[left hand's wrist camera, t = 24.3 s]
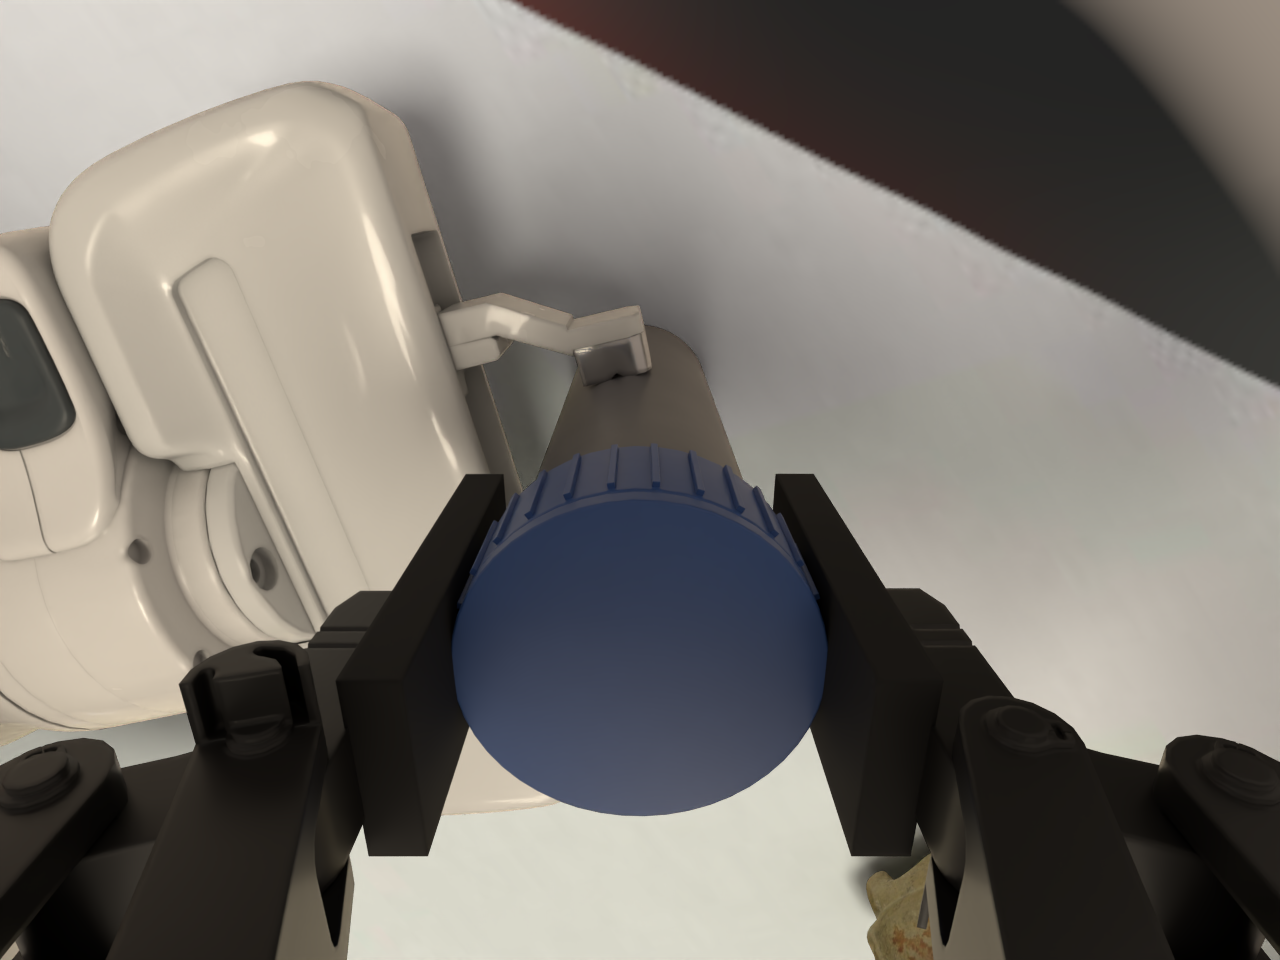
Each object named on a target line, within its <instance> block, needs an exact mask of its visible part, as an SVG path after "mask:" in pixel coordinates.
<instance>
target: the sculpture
mask: <svg viewBox="0 0 1280 960" xmlns="http://www.w3.org/2000/svg"><path fill="white" fill-rule="evenodd" d="M930 856H931V853H930V854H929V855H927V856H926V857H924V858H923V859H922V860H921V861H920V862H919V863H918V864H916V865H915V866H914V867H913V868H911V869H910V870H909V871H908V872H906V873H905V874H903V875H902V876H901V877H899V878H898V879H895V880H893V879H892V878H891V877H890V876H889V874H888V873H887V872H885V871H879V872H877V873H875V874H874V875H872V876H871V877H870V878H869V879H868V881H867V884H866V890H867V895H868V899H869V902H870V904H871V907H872V909H873V912H874V914H875V916H876V919H877V920H876V921H875V922H874V924H873V925H872V926H871V927H870V929H869V930H868V933H867V939H868V943H869V945H870V947H871V950H872V952H873V954H874V956H875V960H933V950H932V940H931V931H930V921H929V919H928V924H927V928H926V929H922V928H918V927H917V922H918V916H919V910H920V905H921V900H922V895H923V890H924V885H925V881H926V876H927V871H928V866H929V861H930Z"/></svg>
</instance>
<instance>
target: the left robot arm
mask: <svg viewBox="0 0 1280 960" xmlns="http://www.w3.org/2000/svg"><path fill="white" fill-rule="evenodd" d="M505 511H506V499H505V486H504V474H465V476H464V478H463V479H462V481H461V482H460V484H459V485H458V487H457V489H456V490H455V492H454V493H453V495H452V497H451V498H450V500H449V501H448V503H447V504H446V506H445V508H444V509H443V511H442V512H441V514H440V516H439V517H438V519H437V520H436V522H435V523H434V525H433V527H432V528H431V530H430V531H429V533H428V535H427V536H426V538H425V539H424V541H423V542H422V544H421V546H420V547H419V549H418V550H417V552H416V554H415V555H414V557H413V558H412V560H411V561H410V563H409V565H408V566H407V568H406V569H405V571H404V573H403V574H402V576H401V577H400V579H399V580H398V582H397V584H396V585H395V587H394V588H393V590H392V591H359V592H357V593H356V594H354V595H353V596H352V597H350V598H349V599H347V600H346V601H344V602H343V603H341V604H340V605H338V606H337V607H335V608H334V609H333V611H332V612H331V613H330V615H329V616H328V617H327V619H326V620H325V622H324V623H323V624H322V626H321V627H320V631H317V632H316V634H315V635H314V636H313V638H312V639H311V640H310V642H309V643H308V648H304V649H303V648H302V647H301V646H300V645H298V644H296V643H291V642H287V641H282V640H268V641H255V642H251V643H247V644H243V645H238V646H234V647H231V648H229V649H227V650H224V651H222V652H220V653H217V654H215V655H213V656H210V657H209V658H207V659H206V660H204V661H203V662H201V663H200V664H198V665H197V666H195V667H194V668H192V669H191V670H190V671H189V672H188V673H187V675H186V676H185V677H184V678H183V679H182V681H181V682H180V683H179V688H180V691H181V695H182V698H183V701H184V705H185V708H186V712H187V715H188V719H189V722H190V726H191V729H192V733H193V736H194V739H195V743H196V745H195V748H194V750H193V752H189V753H186V754H182V755H179V756H175V757H170V758H165V759H161V760H156V761H152V762H147V763H143V764H138V765H133V766H129V767H124V768H120V765H119V762H118V759H117V756H116V754H115V751H114V749H113V748H112V747H111V746H109V745H108V744H107V743H106V742H104V741H103V740H95V739H87V738H80V739H73V740H66V741H59V742H55V743H52V744H48V745H44V746H43V747H38V748H35V749H33V750H30V751H28V752H26V753H24V754H22V755H20V756H18V757H16V758H14V759H12V760H10V761H8V762H6V763H5V764H3V765H1V766H0V959H1V958H2V957H3V956H4V954H5V953H6V952H7V951H8V950H9V948H10V947H11V946H12V945H13V943H14V942H16V944H17V946H18V949H19V951H18V953H17V954H16V955H15V957H14V958H13V959H12V960H347V952H348V942H349V933H350V923H351V913H352V903H353V893H354V878H353V871H352V866H351V861H350V856H349V854H350V852H351V850H352V847H353V845H354V843H355V841H356V838H357V836H358V834H359V832H360V829H361V827H362V825H363V828H364V834H365V839H366V844H367V849H368V855H369V856H428V854H429V851H430V848H431V845H432V842H433V839H434V836H435V832H436V829H437V826H438V823H439V820H440V817H441V814H442V811H443V808H444V804H445V801H446V798H447V795H448V792H449V789H450V786H451V783H452V780H453V776H454V773H455V770H456V767H457V764H458V761H459V758H460V755H461V752H462V748H463V745H464V742H465V739H466V736H467V733H468V730H469V725H468V723H467V721H466V720H465V718H464V716H463V713H462V711H461V708H460V706H459V703H458V700H457V694H456V686H455V678H454V669H453V660H452V650H451V641H452V634H453V630H454V625H455V621H456V617H457V614H458V612H459V609H457V602H458V600H459V598H460V596H461V593H462V591H463V589H464V587H465V585H466V582H467V580H468V578H469V576H470V570H471V568H472V566H473V564H474V562H475V560H476V557H477V555H478V553H479V551H480V549H481V546H482V544H483V542H484V540H485V538H486V535H487V533H488V531H489V529H490V527H491V524H492V523H493V521H494V520H495V521H497V522H499V521H500V519H501V517H502V516H503V514H504V512H505ZM773 511H774V513H775V514H776V515H777V514H778V513H781V514H782V516H783V518H784V520H785V522H786V524H787V527H788V529H789V531H790V533H791V535H792V538H793V540H794V542H795V543H796V544H797V547H798V549H799V551H800V553H801V555H802V558H803V560H804V562H805V564H806V566H807V569H808V571H809V573H810V575H811V577H812V580H813V582H814V584H815V586H816V588H817V591H818V593H819V596H820V599H819V600H816V601H817V603H818V606H819V609H820V612H821V615H822V618H823V621H824V624H825V628H826V635H827V641H828V652H827V662H826V671H825V680H824V688H823V695H822V700H821V703H820V706H819V709H818V711H817V713H816V715H815V717H814V719H813V721H812V723H811V725H810V729H811V732H812V735H813V738H814V741H815V744H816V747H817V751H818V754H819V757H820V760H821V763H822V766H823V769H824V772H825V775H826V779H827V782H828V785H829V788H830V791H831V794H832V797H833V800H834V803H835V807H836V810H837V813H838V816H839V819H840V822H841V825H842V828H843V831H844V835H845V838H846V841H847V844H848V847H849V850H850V853H851V856H911V851H912V846H913V840H914V835H915V830H916V825H917V823H918V825H919V827H920V830H921V832H922V834H923V836H924V839H925V841H926V843H927V845H928V848H929V850H930V852H931V856H930V861H929V866H928V871H927V876H926V881H925V885H924V890H923V895H922V900H921V905H920V910H919V916H918V922H917V927H918V928H922V929H926V928H927V924H928V919H929V921H930V931H931V940H932V950H933V960H1271V959H1270V958H1269V957H1268V956H1267V954H1266V953H1265V952H1264V951H1263V949H1262V948H1261V946H1262V944H1263V942H1264V940H1265V938H1266V939H1267V940H1268V941H1269V943H1270V944H1271V945H1272V946H1273V948H1274V949H1275V950H1276V951H1277V953H1278V954H1279V955H1280V762H1278V761H1276V760H1274V759H1273V758H1271V757H1269V756H1267V755H1265V754H1263V753H1261V752H1259V751H1257V750H1255V749H1253V748H1251V747H1248V746H1246V745H1243V744H1240V743H1239V744H1238V743H1236V742H1234V741H1230V740H1226V739H1223V738H1216V737H1209V736H1202V735H1191V736H1183V737H1177V738H1176V739H1174V740H1173V741H1172V742H1170V743H1169V744H1168V745H1167V746H1166V748H1165V751H1164V754H1163V756H1162V759H1161V762H1160V765H1156V764H1151V763H1147V762H1142V761H1138V760H1133V759H1128V758H1124V757H1119V756H1114V755H1110V754H1105V753H1101V752H1098V751H1094V750H1091V749H1087V748H1086V746H1085V744H1084V742H1083V741H1082V740H1081V738H1080V737H1079V735H1078V734H1077V732H1076V731H1075V730H1074V728H1073V727H1072V726H1070V725H1069V724H1068V723H1066V722H1065V721H1064V720H1063V719H1061V718H1060V717H1059V716H1057V715H1056V714H1055V713H1053V712H1051V711H1048V710H1046V709H1044V708H1042V707H1040V706H1038V705H1036V704H1034V703H1031V702H1027V701H1024V700H1020V699H1016V698H1014V697H1013V696H1012V694H1011V693H1010V692H1009V690H1008V689H1007V688H1006V686H1005V685H1004V684H1003V682H1002V681H1001V680H1000V678H999V677H998V676H997V674H996V673H995V672H994V670H993V669H992V668H991V666H990V665H989V664H988V662H987V661H986V660H985V658H984V657H983V656H982V654H981V653H980V652H979V650H978V649H977V648H976V646H972V641H971V640H970V638H969V637H968V636H967V634H966V633H965V632H964V630H963V629H960V625H959V624H958V622H957V621H956V620H955V618H954V617H953V616H952V614H951V613H950V612H949V610H948V609H947V608H946V606H945V605H944V604H942V603H941V602H939V601H938V600H936V599H935V598H933V597H932V596H930V595H929V594H927V593H926V592H924V591H923V590H921V589H920V588H885V586H884V585H883V583H882V582H881V580H880V578H879V577H878V575H877V574H876V572H875V571H874V569H873V567H872V566H871V564H870V563H869V561H868V559H867V558H866V556H865V555H864V553H863V552H862V550H861V548H860V547H859V545H858V544H857V542H856V540H855V539H854V537H853V536H852V534H851V533H850V531H849V529H848V528H847V526H846V525H845V523H844V521H843V520H842V518H841V517H840V515H839V514H838V512H837V510H836V509H835V507H834V506H833V504H832V502H831V501H830V499H829V498H828V496H827V494H826V493H825V491H824V490H823V488H822V487H821V485H820V483H819V482H818V480H817V479H816V477H815V475H814V474H776V476H775V490H774V503H773Z"/></svg>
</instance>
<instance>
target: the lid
mask: <svg viewBox="0 0 1280 960" xmlns="http://www.w3.org/2000/svg"><path fill="white" fill-rule="evenodd" d="M819 599H820V596H819V593H818V591H817V588H816V586H815V584H814V582H813V580H812V577H811V575H810V573H809V571H808V569H807V566H806V564H805V562H804V560H803V558H802V555H801V553H800V551H799V549H798V547H797V544H796V543H795V542H794V540H793V538H792V535H791V533H790V531H789V529H788V527H787V524H786V522H785V520H784V518H783V516H782V514H781V513H778V514H777V515H776V514H775V513H774V511H773V510H772V508H771V507H770V506H769V504H768V503H767V502H766V501H765V499H764V496H763V494H762V491H761V489H760V488H759V487H758V486H756V487H755V488H752V487H751V486H750V485H749V484H747V483H746V482H745V481H744V480H742V479H741V478H740V477H739V476H737V475H735V474H734V473H733V471H732V468H731V467H730V466H728V465H725V466H724V467H722V466H720V465H718V464H716V463H714V462H711V461H709V460H707V459H705V458H702V457H700V456H697V453H696V451H693V450H690V451H689V453H686V452H683V451H679V450H673V449H667V448H661V447H658V444H655V443H651V447H646V446H630V447H619V448H618V444H615V445H611V448H610V449H606V450H601V451H597V452H592V453H589V454H586V455H583V456H580V453H577V454H575V455H573V458H572V460H569V461H567V462H565V463H563V464H561V465H559V466H557V467H555V468H553V469H551V470H550V471H548V472H546V471H545V470H543V471H541V472H540V473H539V475H538V478H537V480H535V481H534V482H533V483H531V484H530V485H529V486H528V487H527V488H526V489H525V490H524V491H523V492H522V493H520V494H519V495H518V494H517V493H514V494H513V495H512V497H511V499H510V502H509V504H508V506H507V508H506V511H505V512H504V514H503V516H502V517H501V519H500V521H499V522H497V521H495V520H494V521H493V523H492V524H491V527H490V529H489V531H488V533H487V535H486V538H485V540H484V542H483V544H482V546H481V549H480V551H479V553H478V555H477V557H476V560H475V562H474V564H473V566H472V568H471V570H470V576H469V578H468V580H467V582H466V585H465V587H464V589H463V591H462V593H461V596H460V598H459V600H458V602H457V609H459V612H458V614H457V617H456V621H455V625H454V630H453V634H452V641H451V650H452V660H453V669H454V678H455V686H456V694H457V700H458V703H459V706H460V708H461V711H462V713H463V716H464V718H465V720H466V721H467V723H468V725H469V727H470V728H471V730H472V732H473V734H474V735H475V737H476V738H477V739H478V741H479V742H480V743H481V744H482V746H483V747H484V748H485V750H486V751H487V752H488V753H489V754H490V755H491V756H492V757H493V758H494V759H495V760H496V761H497V762H498V763H499V764H500V765H501V766H502V767H503V768H504V769H506V770H507V771H508V772H509V773H511V774H512V775H513V776H515V777H516V778H517V779H518V780H520V781H522V782H523V783H525V784H526V785H528V786H530V787H531V788H533V789H535V790H536V791H538V792H540V793H542V794H545V795H547V796H549V797H551V798H553V799H555V800H557V801H560V802H563V803H566V804H569V805H572V806H575V807H578V808H582V809H586V810H591V811H595V812H599V813H606V814H614V815H622V816H653V815H667V814H673V813H678V812H684V811H690V810H693V809H697V808H700V807H704V806H707V805H711V804H713V803H716V802H718V801H721V800H723V799H726V798H728V797H731V796H733V795H735V794H737V793H738V792H740V791H742V790H744V789H746V788H748V787H750V786H751V785H753V784H754V783H756V782H757V781H759V780H760V779H762V778H763V777H765V776H766V775H767V774H769V773H770V772H771V771H772V770H773V769H774V768H776V767H777V766H778V765H779V764H780V763H781V762H782V761H784V760H785V758H786V757H787V756H788V755H789V754H790V753H791V752H792V751H793V749H794V748H795V747H796V746H797V745H798V744H799V742H800V741H801V739H802V738H803V736H804V735H805V733H806V732H807V730H808V729H809V727H810V725H811V723H812V721H813V719H814V717H815V715H816V713H817V711H818V709H819V706H820V703H821V700H822V695H823V688H824V680H825V671H826V662H827V652H828V641H827V635H826V628H825V624H824V621H823V618H822V615H821V612H820V609H819V606H818V603H817V601H816V600H819Z"/></svg>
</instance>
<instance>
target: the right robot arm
mask: <svg viewBox="0 0 1280 960" xmlns="http://www.w3.org/2000/svg"><path fill="white" fill-rule="evenodd" d="M514 340H515V341H519V342H523V343H526V344H530V345H533V346H537V347H541V348H544V349H548V350H552V351H555V352H559V353H563V354H566V355H570V356H574V355H575V358H576V362H577V365H578V369H579V372H580V375H581V379H582V382H583V386H584V387H586V386H590V385H595V384H599V383H603V382H606V381H609V380H611V379H612V378H613V376H614V375H615V374H616V373H617V374H620V375H623V376H625V377H626V376H634V375H638V374H641V373H644V372H646V371H648V370H650V369H652V359H651V355H650V350H649V345H648V340H647V336H646V331H645V326H644V322H643V318H642V314H641V310H640V306H638V305H637V306H627V307H622V308H618V309H614V310H610V311H606V312H601V313H597V314H593V315H589V316H585V317H580V318H576V319H574V318H573V315H572V314H569V313H566V312H563V311H560V310H556V309H553V308H550V307H547V306H544V305H540V304H537V303H534V302H531V301H527V300H524V299H521V298H518V297H515V296H511V295H508V294H505V293H502V292H501V293H497V294H493V295H489V296H484V297H480V298H476V299H472V300H468V301H464V302H463V301H462V298H461V295H460V292H459V289H458V286H457V283H456V280H455V276H454V273H453V270H452V267H451V264H450V261H449V258H448V254H447V251H446V248H445V245H444V242H443V239H442V236H441V233H440V229H439V226H438V223H437V220H436V217H435V214H434V211H433V208H432V205H431V201H430V198H429V195H428V192H427V189H426V186H425V183H424V180H423V177H422V173H421V170H420V167H419V164H418V161H417V157H416V154H415V151H414V148H413V145H412V141H411V138H410V136H409V133H408V130H407V128H406V126H405V125H404V123H403V122H402V120H401V119H400V118H399V117H398V116H396V115H395V114H394V113H392V112H390V111H389V110H387V109H385V108H384V107H382V106H380V105H379V104H377V103H375V102H374V101H372V100H371V99H369V98H367V97H365V96H363V95H361V94H359V93H357V92H355V91H352V90H350V89H348V88H346V87H342V86H339V85H335V84H331V83H326V82H320V81H301V82H295V83H288V84H285V85H281V86H277V87H273V88H270V89H266V90H263V91H260V92H257V93H254V94H251V95H248V96H245V97H242V98H239V99H236V100H233V101H230V102H227V103H224V104H222V105H219V106H216V107H214V108H211V109H208V110H206V111H203V112H201V113H198V114H195V115H193V116H191V117H188V118H186V119H184V120H181V121H179V122H177V123H174V124H172V125H169V126H167V127H165V128H162V129H160V130H158V131H156V132H154V133H151V134H149V135H147V136H145V137H143V138H141V139H139V140H137V141H135V142H133V143H131V144H129V145H127V146H125V147H123V148H121V149H119V150H117V151H115V152H113V153H111V154H109V155H108V156H106V157H104V158H103V159H101V160H99V161H97V162H96V163H94V164H93V165H91V166H90V167H89V168H87V169H86V170H85V171H83V172H82V173H81V174H80V175H79V176H78V177H76V178H75V179H74V180H73V181H72V183H71V184H70V185H69V186H68V187H67V189H66V190H65V191H64V192H63V194H62V195H61V197H60V199H59V201H58V203H57V204H56V207H55V209H54V212H53V214H52V218H51V222H50V226H45V227H38V228H31V229H25V230H18V231H12V232H6V233H2V234H0V747H1V746H4V745H7V744H9V743H11V742H14V741H16V740H18V739H20V738H22V737H24V736H26V735H28V734H30V733H32V732H34V731H36V730H37V729H44V730H53V731H67V732H72V731H90V730H100V729H105V728H111V727H116V726H121V725H126V724H131V723H137V722H142V721H147V720H152V719H157V718H161V717H166V716H171V715H176V714H181V713H186V708H185V705H184V701H183V698H182V695H181V691H180V688H179V683H180V682H181V681H182V679H183V678H184V677H185V676H186V675H187V673H188V672H189V671H190V670H191V669H192V668H194V667H195V666H197V665H198V664H200V663H201V662H203V661H204V660H206V659H207V658H209V657H210V656H213V655H215V654H217V653H220V652H222V651H224V650H227V649H229V648H231V647H234V646H238V645H243V644H247V643H251V642H255V641H268V640H282V641H287V642H291V643H296V644H298V645H300V646H301V647H302V648H303V649H304V648H308V643H309V642H310V640H311V639H312V638H313V636H314V635H315V634H316V632H317V631H320V627H321V626H322V624H323V623H324V622H325V620H326V619H327V617H328V616H329V615H330V613H331V612H332V611H333V609H334V608H335V607H337V606H338V605H340V604H341V603H343V602H344V601H346V600H347V599H349V598H350V597H352V596H353V595H354V594H356V593H357V592H359V591H392V590H393V588H394V587H395V585H396V584H397V582H398V580H399V579H400V577H401V576H402V574H403V573H404V571H405V569H406V568H407V566H408V565H409V563H410V561H411V560H412V558H413V557H414V555H415V554H416V552H417V550H418V549H419V547H420V546H421V544H422V542H423V541H424V539H425V538H426V536H427V535H428V533H429V531H430V530H431V528H432V527H433V525H434V523H435V522H436V520H437V519H438V517H439V516H440V514H441V512H442V511H443V509H444V508H445V506H446V504H447V503H448V501H449V500H450V498H451V497H452V495H453V493H454V492H455V490H456V489H457V487H458V485H459V484H460V482H461V481H462V479H463V478H464V476H465V474H504V486H505V499H506V508H507V506H508V504H509V502H510V499H511V497H512V495H513V494H514V493H517V494H518V495H519V494H520V493H522V492H523V489H522V486H521V483H520V480H519V477H518V474H517V470H516V467H515V464H514V461H513V458H512V455H511V452H510V449H509V445H508V442H507V439H506V436H505V433H504V430H503V427H502V424H501V420H500V417H499V414H498V411H497V408H496V405H495V402H494V398H493V395H492V392H491V389H490V386H489V383H488V380H487V377H486V373H485V370H484V367H483V364H485V363H489V362H493V361H497V360H498V359H499V358H500V357H501V356H502V355H503V353H504V352H505V351H506V350H507V349H508V348H509V347H510V345H511V344H512V343H513V341H514ZM558 802H560V801H557V800H555V799H553V798H551V797H549V796H547V795H545V794H542V793H540V792H538V791H536V790H535V789H533V788H531V787H530V786H528V785H526V784H525V783H523V782H522V781H520V780H518V779H517V778H516V777H515V776H513V775H512V774H511V773H509V772H508V771H507V770H506V769H504V768H503V767H502V766H501V765H500V764H499V763H498V762H497V761H496V760H495V759H494V758H493V757H492V756H491V755H490V754H489V753H488V752H487V751H486V750H485V748H484V747H483V746H482V744H481V743H480V742H479V741H478V739H477V738H476V737H475V735H474V734H473V732H472V730H471V728H470V727H469V730H468V733H467V736H466V739H465V742H464V745H463V748H462V752H461V755H460V758H459V761H458V764H457V767H456V770H455V773H454V776H453V780H452V783H451V786H450V789H449V792H448V795H447V798H446V801H445V804H444V808H443V811H442V814H441V815H460V814H477V813H491V812H503V811H512V810H521V809H529V808H537V807H544V806H548V805H553V804H556V803H558ZM18 951H19V949H18V946H17V944H16V942H14V943H13V945H12V946H11V947H10V948H9V950H8V951H7V952H6V953H5V954H4V956H3V957H2V958H1V959H0V960H12V959H13V958H14V957H15V955H16V954H17V953H18Z"/></svg>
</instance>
